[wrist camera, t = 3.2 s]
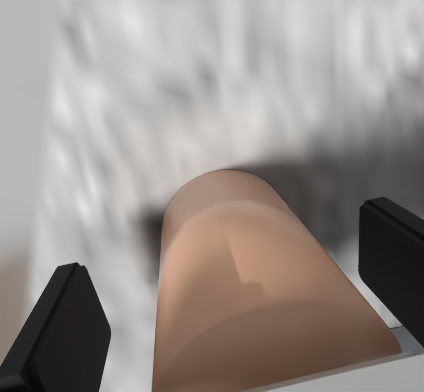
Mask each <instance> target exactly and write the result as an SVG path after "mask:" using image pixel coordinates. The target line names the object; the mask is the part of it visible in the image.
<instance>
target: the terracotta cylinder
mask: <svg viewBox="0 0 424 392" xmlns="http://www.w3.org/2000/svg"><path fill="white" fill-rule="evenodd" d="M400 353H402V349H401V347H400V344H399V342H398V340H397V338H396V337H395V335H394V334H393V332H392V331H391V329H390V328H389V327H388V326H387V325H386V323H385V322H384V321H383V320H382V319H381V317H380V316H379V315H378V314H377V313H376V311H375V310H374V309H373V308H372V306H371V305H370V304H369V303H368V302H367V300H366V299H365V298H364V297H363V296H362V294H361V293H360V292H359V291H358V290H357V288H356V287H355V286H354V285H353V284H352V282H351V281H350V280H349V279H348V278H347V276H346V275H345V274H344V273H343V272H342V270H341V269H340V268H339V267H338V266H337V264H336V263H335V262H334V261H333V260H332V258H331V257H330V256H329V255H328V254H327V252H326V251H325V250H324V249H323V248H322V246H321V245H320V244H319V243H318V241H317V240H316V239H315V238H314V237H313V235H312V234H311V233H310V232H309V231H308V229H307V228H306V227H305V226H304V225H303V223H302V222H301V221H300V220H299V219H298V217H297V216H296V215H295V214H294V213H293V211H292V210H291V209H290V208H289V207H288V205H287V204H286V203H285V202H284V201H283V199H282V198H281V197H280V196H279V195H278V193H277V192H276V191H275V190H274V189H273V188H272V187H271V186H270V184H268V183H267V182H266V181H264V180H263V179H261V178H260V177H258V176H256V175H254V174H251V173H248V172H244V171H240V170H218V171H213V172H209V173H205V174H203V175H201V176H198V177H196V178H195V179H193V180H191V181H189V182H188V183H187V184H185V185H184V186H183V187H182V188H181V189H180V190H179V191H178V192H177V193H176V194H175V195H174V197H173V198H172V199H171V201H170V203H169V204H168V206H167V209H166V211H165V214H164V218H163V224H162V237H161V253H160V268H159V284H158V300H157V315H156V331H155V347H154V363H153V378H152V392H241V391H245V390H249V389H253V388H257V387H261V386H265V385H270V384H274V383H278V382H282V381H286V380H290V379H294V378H299V377H303V376H307V375H311V374H315V373H319V372H324V371H328V370H332V369H336V368H340V367H345V366H349V365H353V364H357V363H362V362H366V361H370V360H374V359H379V358H383V357H387V356H391V355H396V354H400Z"/></svg>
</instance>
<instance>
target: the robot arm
mask: <svg viewBox="0 0 424 392" xmlns="http://www.w3.org/2000/svg"><path fill="white" fill-rule="evenodd" d="M358 271H359V275H360V277H361V279H362V281H363V282H364V283H365V284H366V285H367V286H368V287H369V288H370V290H371V291H372V292H373V293H374V294H375V295H376V296H377V297H378V298H379V299H380V301H381V302H382V303H383V304H384V305H385V306H386V307H387V308H388V309H389V310H390V312H391V313H392V314H393V315H394V316H395V317H396V318H397V319H398V320H399V321H400V322H401V324H402V325H403V326H404V327H405V328H406V329H407V330H408V331H409V332H410V333H411V335H412V336H413V337H414V338H415V339H416V340H417V341H418V342H419V343H420V344H421V346H422V347H423V348H421V349H417V350H413V351H409V352H404V353H400V354H396V355H391V356H387V357H383V358H379V359H374V360H370V361H366V362H362V363H357V364H353V365H349V366H345V367H340V368H336V369H332V370H328V371H324V372H319V373H315V374H311V375H307V376H303V377H299V378H294V379H290V380H286V381H282V382H278V383H274V384H270V385H265V386H261V387H257V388H253V389H249V390H245V391H241V392H424V220H423V219H421V218H419V217H418V216H416V215H414V214H413V213H411V212H409V211H408V210H406V209H404V208H403V207H401V206H399V205H397V204H396V203H394V202H392V201H391V200H389V199H387V198H385V197H380V198H375V199H370V200H366V201H365V202H364V205H362V206H361V207H360V216H359V265H358ZM110 339H111V329H110V325H109V323H108V320H107V318H106V316H105V313H104V311H103V308H102V306H101V303H100V301H99V298H98V296H97V293H96V291H95V288H94V286H93V283H92V281H91V278H90V276H89V273H88V271H87V269H86V267H85V266H84V265H83V266H80V265H79V263H77V262H76V263H71V264H67V265H62V266H58V267H57V268H56V270H55V272H54V274H53V275H52V277H51V279H50V281H49V282H48V284H47V286H46V288H45V289H44V291H43V293H42V295H41V296H40V298H39V300H38V302H37V303H36V305H35V307H34V308H33V310H32V312H31V314H30V315H29V317H28V319H27V321H26V322H25V324H24V326H23V328H22V329H21V331H20V333H19V335H18V337H17V338H16V340H15V342H14V343H13V345H12V347H11V349H10V350H9V352H8V354H7V356H6V357H5V359H4V361H3V363H2V364H1V366H0V392H99V389H100V384H101V379H102V375H103V370H104V366H105V361H106V357H107V352H108V348H109V343H110Z"/></svg>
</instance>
